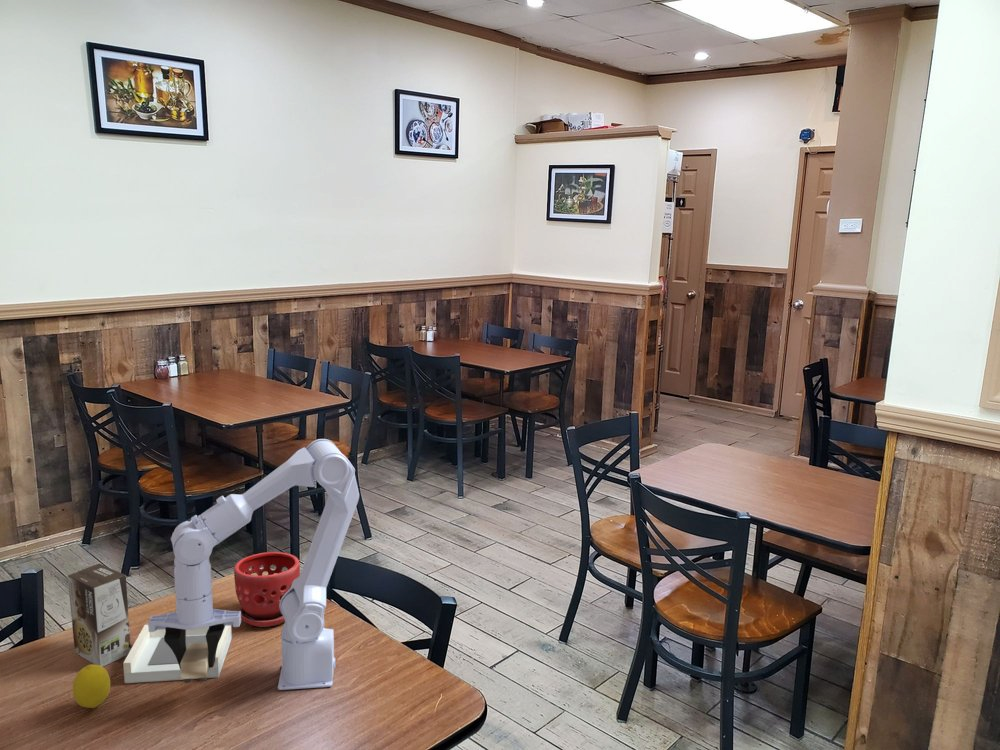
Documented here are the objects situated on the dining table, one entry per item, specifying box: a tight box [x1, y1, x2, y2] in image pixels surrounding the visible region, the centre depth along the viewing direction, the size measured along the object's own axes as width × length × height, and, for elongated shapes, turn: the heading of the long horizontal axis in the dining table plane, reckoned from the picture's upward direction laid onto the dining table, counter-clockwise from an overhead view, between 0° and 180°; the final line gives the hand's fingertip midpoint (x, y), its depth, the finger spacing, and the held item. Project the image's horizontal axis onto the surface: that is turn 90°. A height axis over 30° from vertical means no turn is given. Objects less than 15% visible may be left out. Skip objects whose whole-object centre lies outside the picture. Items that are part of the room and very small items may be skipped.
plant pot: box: [233, 551, 301, 627], centre depth 156 cm, size 13×13×12 cm
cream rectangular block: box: [180, 642, 210, 684], centre depth 127 cm, size 4×6×4 cm, turn 10°
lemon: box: [72, 663, 111, 709], centre depth 125 cm, size 6×6×8 cm
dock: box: [122, 624, 233, 684], centre depth 140 cm, size 16×13×4 cm
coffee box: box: [67, 563, 132, 668], centre depth 140 cm, size 9×6×16 cm
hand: (197, 665), depth 127 cm, fingers closed on cream rectangular block, 4 cm apart
